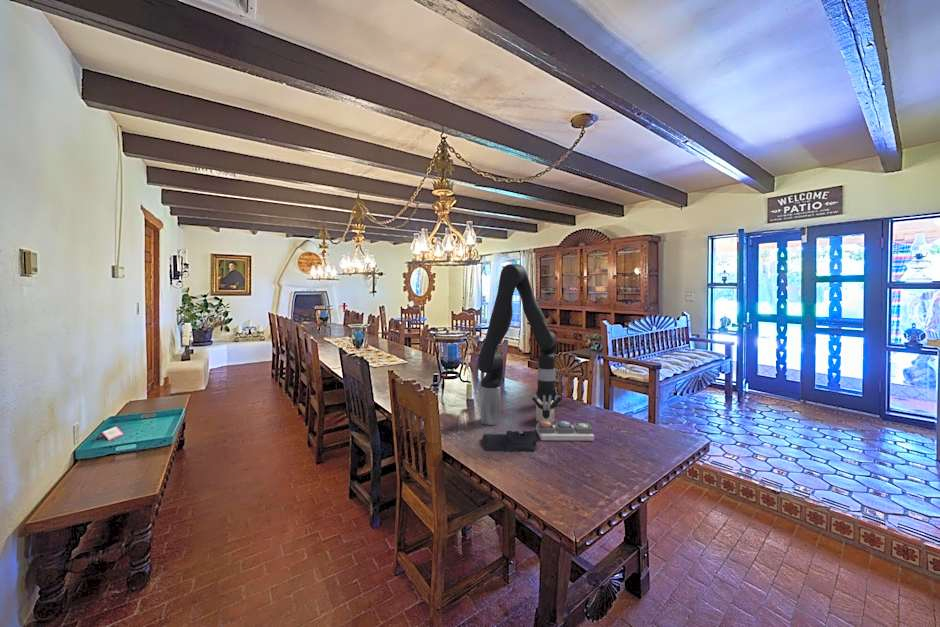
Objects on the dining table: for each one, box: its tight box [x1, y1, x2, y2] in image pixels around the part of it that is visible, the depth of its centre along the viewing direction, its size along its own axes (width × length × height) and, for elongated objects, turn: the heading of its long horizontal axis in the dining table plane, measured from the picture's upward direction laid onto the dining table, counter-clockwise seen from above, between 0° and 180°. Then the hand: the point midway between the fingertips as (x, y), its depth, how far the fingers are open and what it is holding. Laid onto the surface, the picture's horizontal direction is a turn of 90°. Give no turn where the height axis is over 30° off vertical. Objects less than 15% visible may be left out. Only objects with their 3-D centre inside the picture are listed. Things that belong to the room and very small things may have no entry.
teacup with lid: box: [535, 398, 555, 424], centre depth 180 cm, size 12×9×12 cm
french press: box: [553, 372, 563, 408], centre depth 203 cm, size 12×9×23 cm
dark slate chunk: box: [481, 430, 538, 453], centre depth 152 cm, size 15×22×5 cm
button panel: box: [535, 422, 595, 442], centre depth 162 cm, size 22×12×4 cm, turn 90°
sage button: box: [578, 422, 588, 428], centre depth 161 cm, size 4×4×2 cm
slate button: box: [558, 420, 571, 428], centre depth 161 cm, size 4×4×2 cm
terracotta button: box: [540, 421, 551, 428], centre depth 161 cm, size 4×4×2 cm
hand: (545, 418), depth 161 cm, fingers closed
